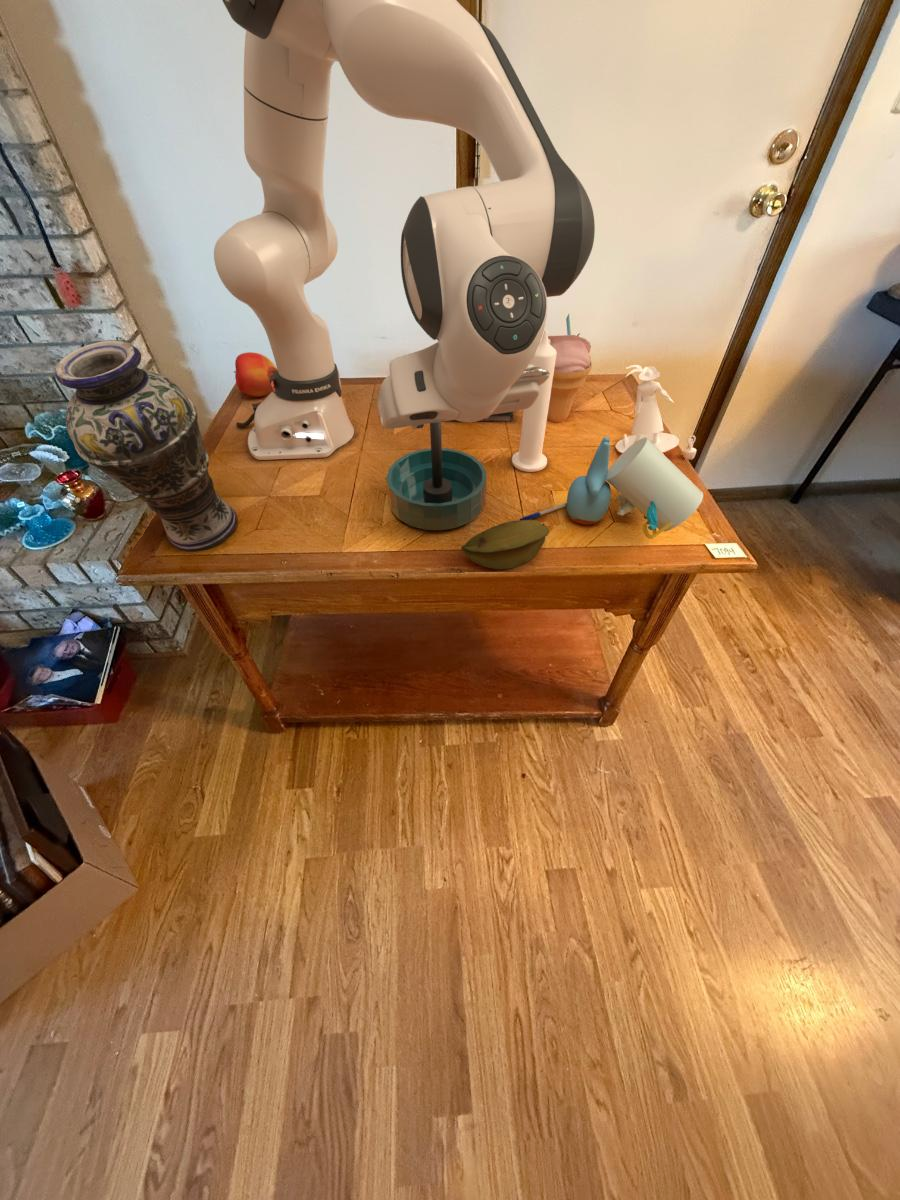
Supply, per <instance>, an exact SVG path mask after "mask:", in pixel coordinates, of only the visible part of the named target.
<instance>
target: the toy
mask: <svg viewBox="0 0 900 1200" xmlns="http://www.w3.org/2000/svg"><path fill="white" fill-rule="evenodd" d="M610 449H611V438H610V437H609V436H604V437H603V438H602V440H601V441H600V443H599V445H598V446H597V449H596V451H595V453H594V456H593V458H592V460H591V462H590V465H589V467H588V469H587V472H586V474H585V475H581V476H577V477H576V478H575V479H574V480H573V481H572V482H571V484H570V486H569V488H568V492H567V496H566V503H567V506H566V511H567V514H568V517H569V518H570V519H571V520H572V521H574V522H576V523H578V524H581V525H592V524H595V523H598V522H600V521H601V520H602V519H604V517H605V515H606V514H607V512H608V510H609V507H610V505H611V501H612V487H611V484H610V483H609V482H608V481H607V480H606V478H607V474H608V470H609V462H610Z"/></svg>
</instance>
